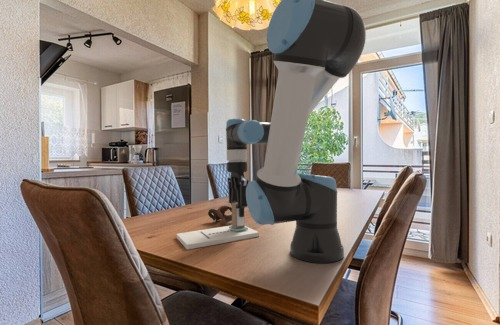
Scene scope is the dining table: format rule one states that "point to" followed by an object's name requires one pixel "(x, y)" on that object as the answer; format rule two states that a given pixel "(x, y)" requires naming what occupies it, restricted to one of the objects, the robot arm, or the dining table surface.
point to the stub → (234, 219)
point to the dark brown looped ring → (220, 214)
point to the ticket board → (214, 236)
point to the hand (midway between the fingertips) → (238, 224)
